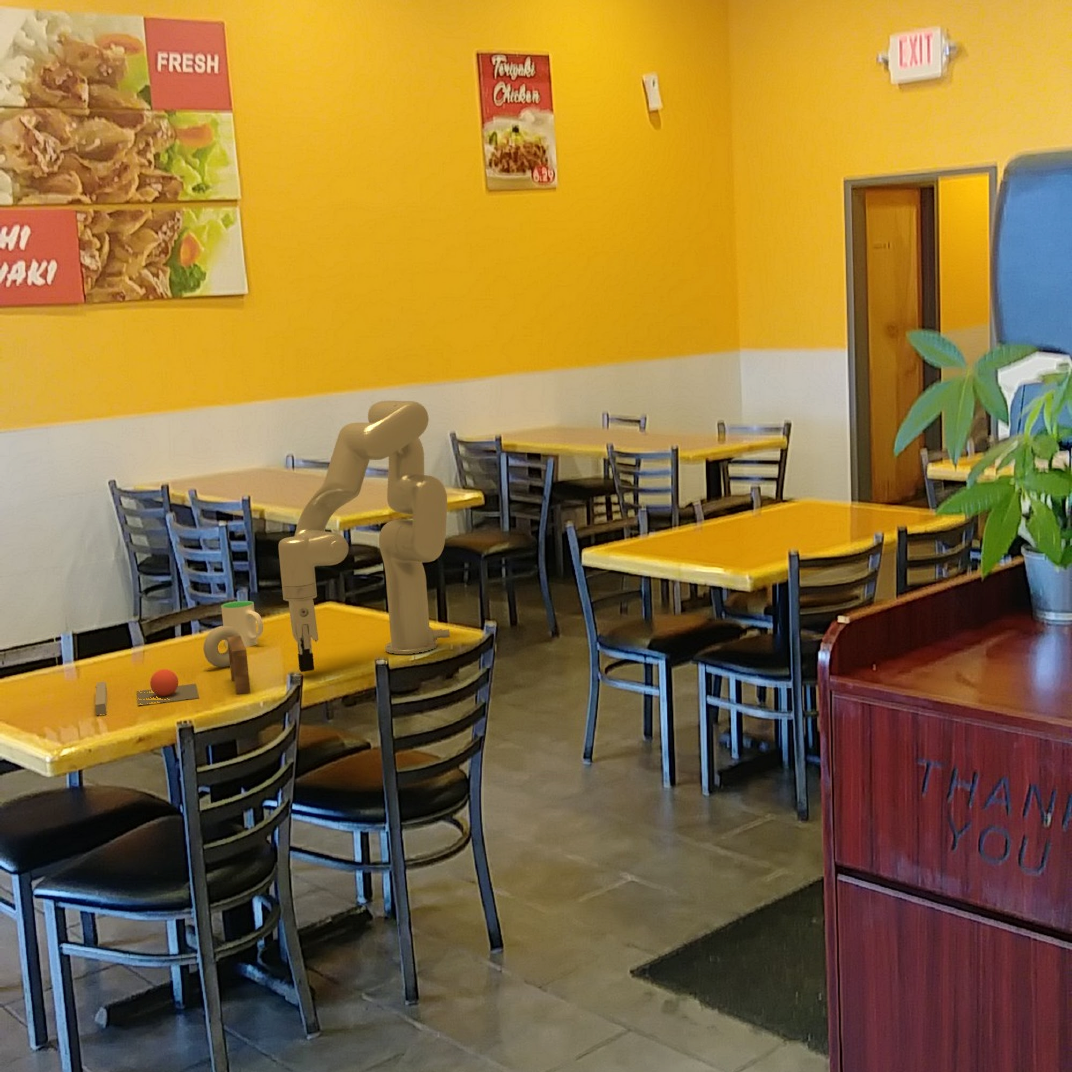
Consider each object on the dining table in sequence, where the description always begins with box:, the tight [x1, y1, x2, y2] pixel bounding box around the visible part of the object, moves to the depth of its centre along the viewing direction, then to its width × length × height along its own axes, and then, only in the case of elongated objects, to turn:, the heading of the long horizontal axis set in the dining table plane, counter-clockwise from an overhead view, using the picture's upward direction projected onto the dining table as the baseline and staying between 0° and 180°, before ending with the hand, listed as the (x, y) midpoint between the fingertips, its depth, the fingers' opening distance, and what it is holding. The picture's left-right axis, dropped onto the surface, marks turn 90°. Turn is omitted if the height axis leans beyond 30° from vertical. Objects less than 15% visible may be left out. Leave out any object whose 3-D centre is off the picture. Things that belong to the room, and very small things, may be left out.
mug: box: [220, 600, 264, 648], centre depth 357 cm, size 12×8×10 cm
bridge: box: [227, 636, 251, 695], centre depth 316 cm, size 3×15×10 cm, turn 16°
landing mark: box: [136, 683, 200, 706], centre depth 313 cm, size 13×13×1 cm
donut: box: [203, 625, 240, 668], centre depth 335 cm, size 10×3×10 cm, turn 133°
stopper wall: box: [94, 681, 108, 716], centre depth 309 cm, size 2×20×2 cm, turn 16°
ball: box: [149, 668, 179, 696], centre depth 312 cm, size 6×6×6 cm
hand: (306, 670), depth 321 cm, fingers closed
